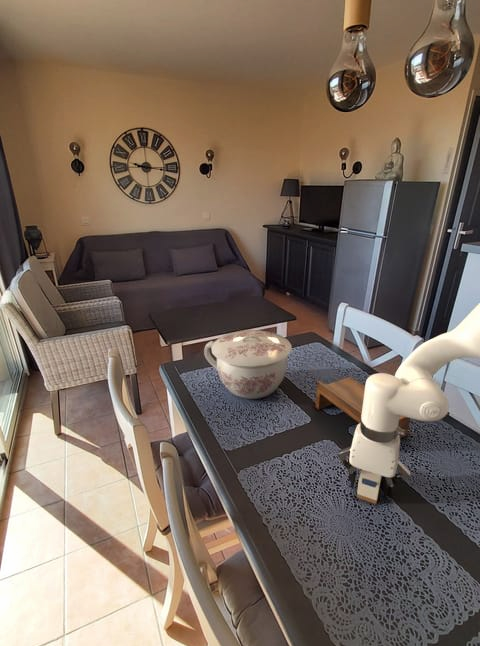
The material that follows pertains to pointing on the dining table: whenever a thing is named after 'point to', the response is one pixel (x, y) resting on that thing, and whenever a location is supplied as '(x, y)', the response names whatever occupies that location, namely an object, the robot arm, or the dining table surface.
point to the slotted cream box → (369, 486)
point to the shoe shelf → (348, 399)
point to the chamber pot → (250, 361)
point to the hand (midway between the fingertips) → (368, 488)
